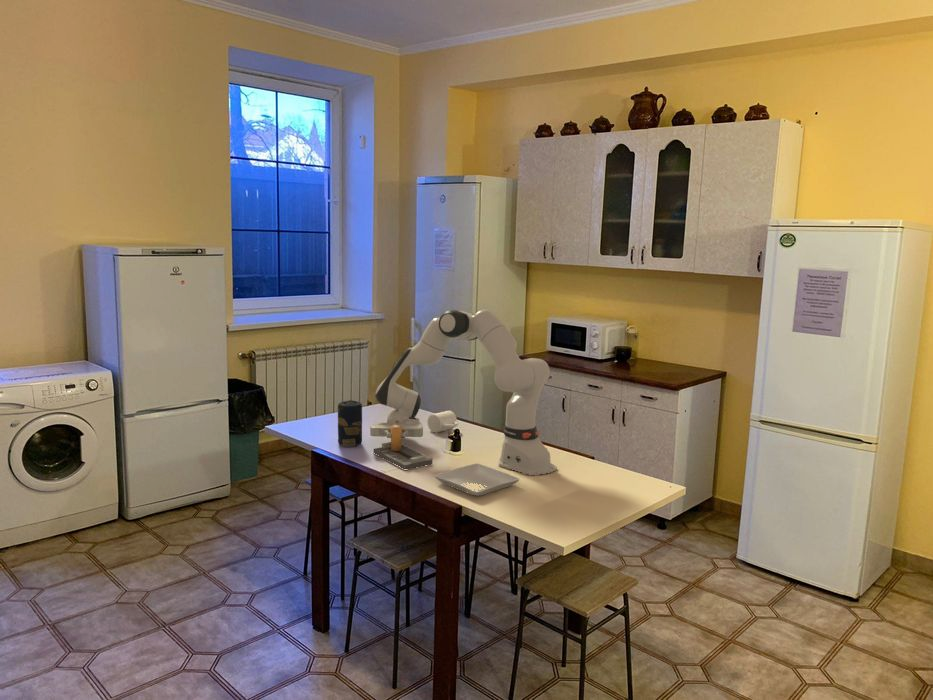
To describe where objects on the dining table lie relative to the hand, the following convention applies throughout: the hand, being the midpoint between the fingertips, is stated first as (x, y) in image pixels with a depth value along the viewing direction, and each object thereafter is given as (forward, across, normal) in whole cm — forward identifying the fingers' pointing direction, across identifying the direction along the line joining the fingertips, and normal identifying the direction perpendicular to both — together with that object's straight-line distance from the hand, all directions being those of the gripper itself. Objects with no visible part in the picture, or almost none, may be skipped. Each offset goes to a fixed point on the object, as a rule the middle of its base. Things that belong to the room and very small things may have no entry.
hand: (396, 436), depth 267 cm
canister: (-14, -19, +8) cm, 25 cm away
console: (+3, +2, +8) cm, 9 cm away
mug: (-34, +20, +8) cm, 40 cm away
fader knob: (-1, 0, +6) cm, 6 cm away
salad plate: (+29, +28, +8) cm, 41 cm away
